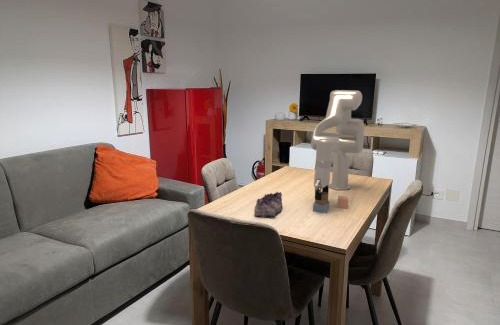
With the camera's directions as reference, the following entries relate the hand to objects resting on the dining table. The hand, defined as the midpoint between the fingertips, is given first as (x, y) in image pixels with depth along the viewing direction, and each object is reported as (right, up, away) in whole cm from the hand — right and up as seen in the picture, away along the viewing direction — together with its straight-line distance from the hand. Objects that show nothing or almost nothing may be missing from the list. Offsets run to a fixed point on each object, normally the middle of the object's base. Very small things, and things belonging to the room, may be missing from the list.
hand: (321, 197), depth 178 cm
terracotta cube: (+12, -6, +7) cm, 15 cm away
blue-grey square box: (0, -7, +1) cm, 7 cm away
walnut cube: (0, -3, +1) cm, 3 cm away
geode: (-26, -7, -2) cm, 27 cm away
